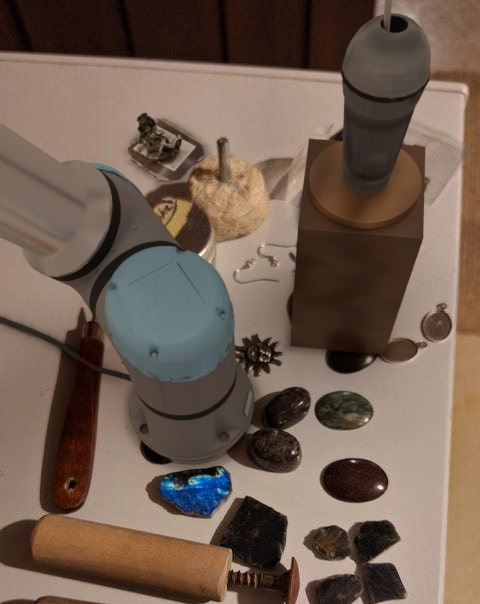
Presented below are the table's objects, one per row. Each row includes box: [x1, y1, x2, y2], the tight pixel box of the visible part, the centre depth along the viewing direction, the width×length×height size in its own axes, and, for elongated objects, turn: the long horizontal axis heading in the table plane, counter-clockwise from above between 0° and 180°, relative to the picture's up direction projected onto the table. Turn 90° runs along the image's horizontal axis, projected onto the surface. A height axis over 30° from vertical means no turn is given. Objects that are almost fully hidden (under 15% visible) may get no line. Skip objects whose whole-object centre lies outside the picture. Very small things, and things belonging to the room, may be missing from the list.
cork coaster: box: [308, 140, 422, 229], centre depth 63 cm, size 11×11×1 cm
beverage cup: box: [340, 0, 432, 196], centre depth 53 cm, size 7×7×20 cm
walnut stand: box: [289, 138, 426, 356], centre depth 73 cm, size 12×12×22 cm
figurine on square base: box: [127, 112, 205, 182], centre depth 95 cm, size 12×6×11 cm
